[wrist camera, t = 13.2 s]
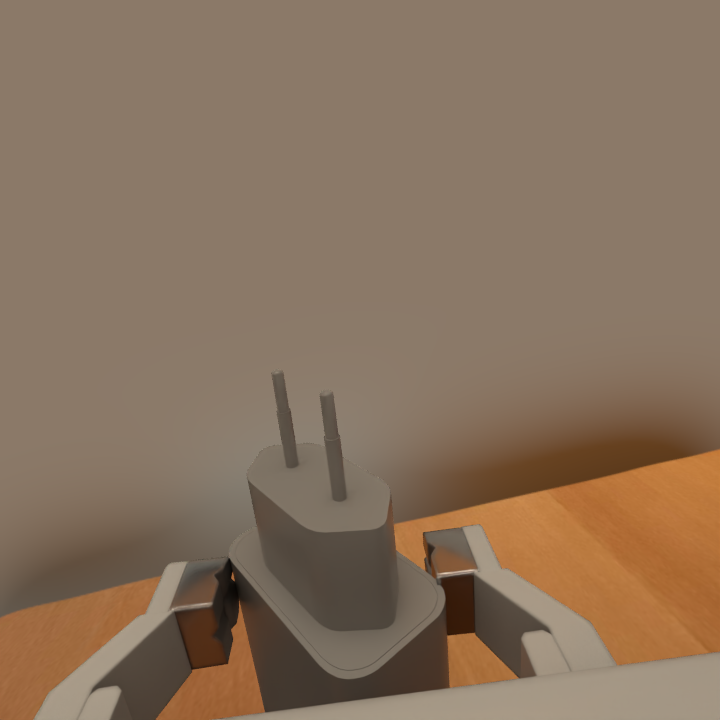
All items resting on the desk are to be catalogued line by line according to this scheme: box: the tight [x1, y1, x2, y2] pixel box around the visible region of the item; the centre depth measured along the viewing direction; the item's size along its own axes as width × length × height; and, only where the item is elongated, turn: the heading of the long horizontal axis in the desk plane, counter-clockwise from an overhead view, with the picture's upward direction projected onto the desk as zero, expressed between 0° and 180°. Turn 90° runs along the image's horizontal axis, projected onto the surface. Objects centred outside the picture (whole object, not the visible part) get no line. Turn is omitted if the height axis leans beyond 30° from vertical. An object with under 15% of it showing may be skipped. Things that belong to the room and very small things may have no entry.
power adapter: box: [229, 369, 450, 712], centre depth 12 cm, size 3×5×12 cm, turn 40°
